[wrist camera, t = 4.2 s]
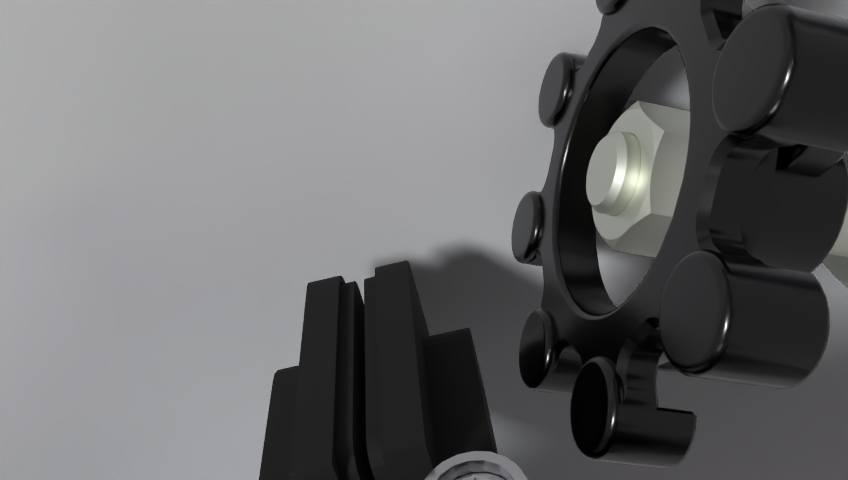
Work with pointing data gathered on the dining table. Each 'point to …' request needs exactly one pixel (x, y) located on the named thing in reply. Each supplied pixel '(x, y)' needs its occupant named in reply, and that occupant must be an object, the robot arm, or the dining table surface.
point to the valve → (686, 215)
